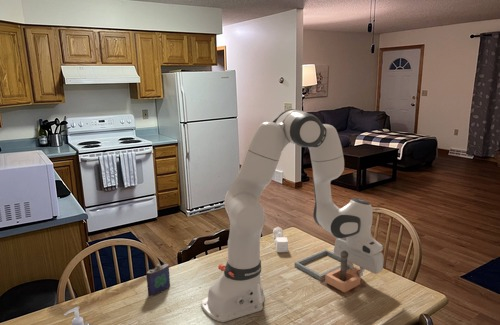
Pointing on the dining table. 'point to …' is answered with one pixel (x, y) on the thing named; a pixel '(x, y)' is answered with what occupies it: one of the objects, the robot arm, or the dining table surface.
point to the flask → (158, 279)
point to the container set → (280, 240)
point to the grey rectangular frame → (312, 257)
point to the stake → (343, 278)
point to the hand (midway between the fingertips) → (356, 274)
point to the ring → (345, 286)
